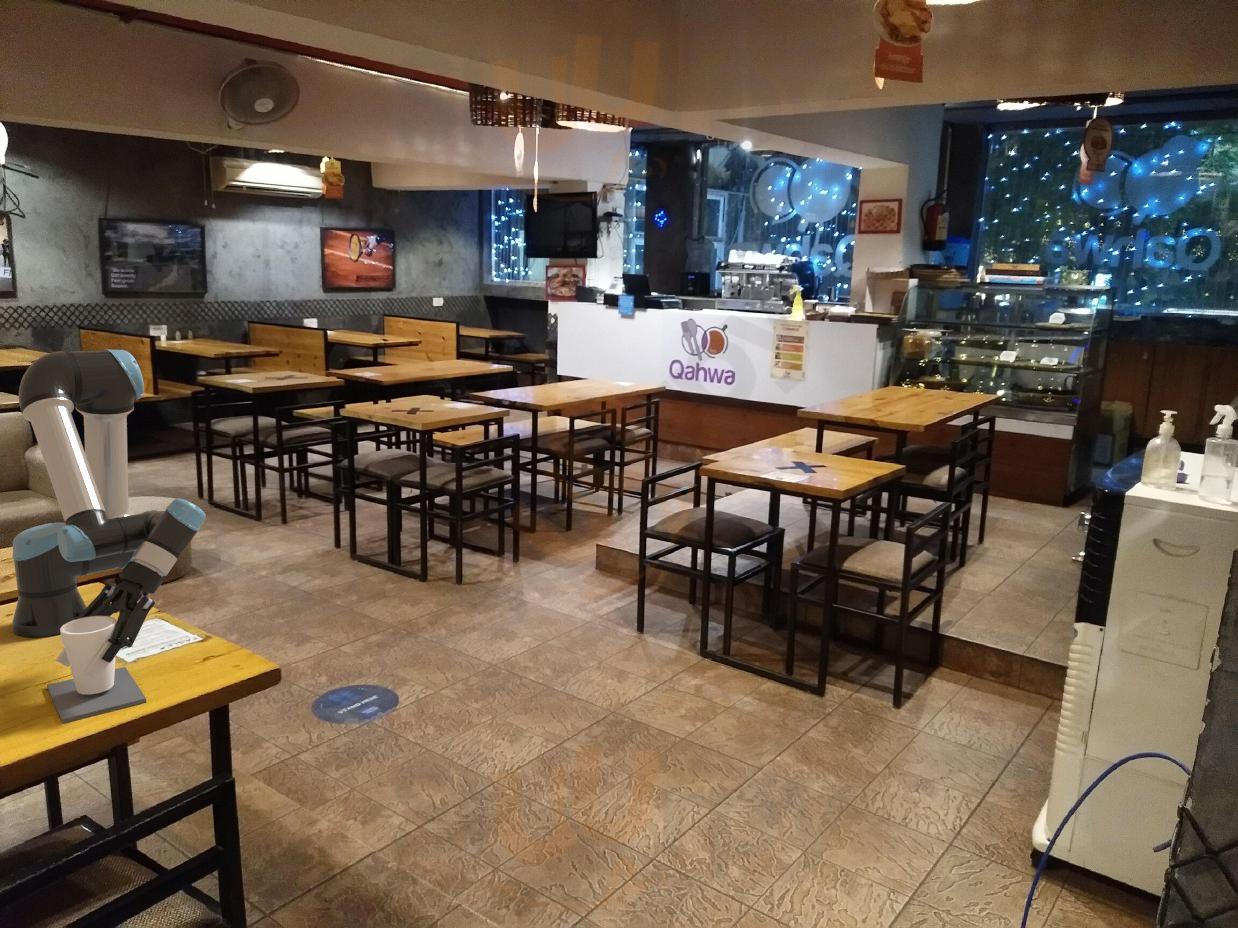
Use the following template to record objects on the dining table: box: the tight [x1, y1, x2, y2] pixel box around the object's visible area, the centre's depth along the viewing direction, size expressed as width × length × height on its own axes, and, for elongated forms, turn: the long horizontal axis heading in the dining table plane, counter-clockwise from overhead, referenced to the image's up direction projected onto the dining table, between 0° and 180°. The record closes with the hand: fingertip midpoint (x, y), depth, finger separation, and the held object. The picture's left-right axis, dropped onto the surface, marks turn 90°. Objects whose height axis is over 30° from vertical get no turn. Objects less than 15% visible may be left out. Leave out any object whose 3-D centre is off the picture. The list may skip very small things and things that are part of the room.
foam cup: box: [60, 616, 117, 694], centre depth 175 cm, size 10×9×13 cm
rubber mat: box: [46, 666, 147, 724], centre depth 177 cm, size 18×14×1 cm
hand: (76, 669), depth 173 cm, fingers closed on foam cup, 9 cm apart
